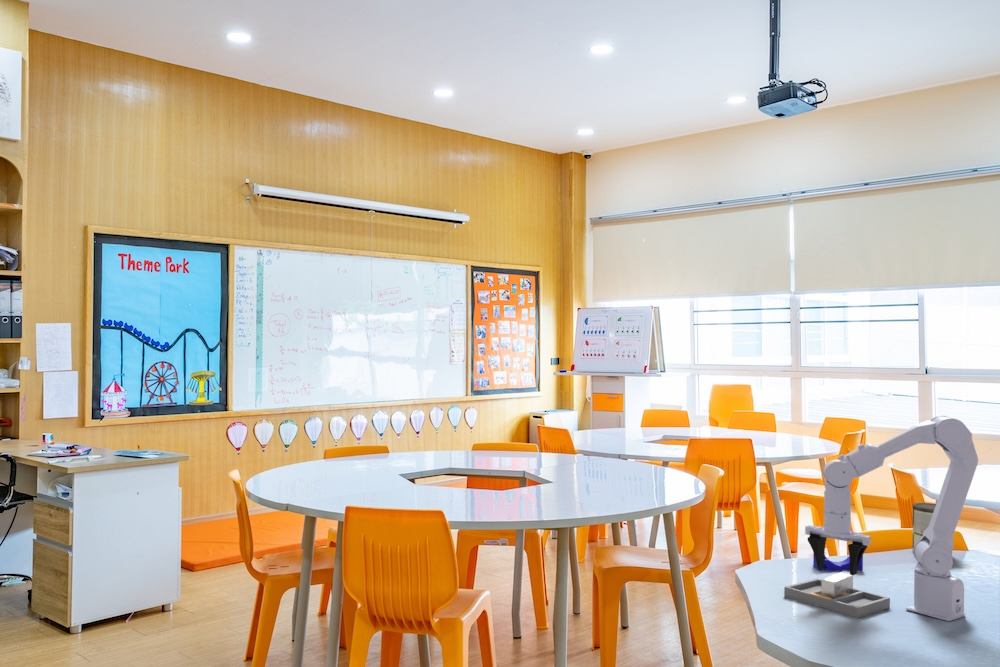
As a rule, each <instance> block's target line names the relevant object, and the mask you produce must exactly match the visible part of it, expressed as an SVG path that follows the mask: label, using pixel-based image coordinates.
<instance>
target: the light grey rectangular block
mask: <svg viewBox="0 0 1000 667" xmlns="http://www.w3.org/2000/svg"><path fill="white" fill-rule="evenodd" d="M821 580H822V582H821V595H822V596H825V597H829V598H832V599H835V598H838V597H842V596H845V595H849V594H852V593H853V588H854V575H850V573H846V572H843V571H839V572H838V573H834V574H832V575H828V576H827V577H825V578H822V579H821Z"/></svg>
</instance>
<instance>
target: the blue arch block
mask: <svg viewBox="0 0 1000 667" xmlns="http://www.w3.org/2000/svg"><path fill="white" fill-rule="evenodd" d="M824 555H825V563H824V567H822V568H817V563H816V559H815V555H814V554H813V564H812V566H813V567H814V568H815V569H817V570H818V571H826V572H827V571H829V572H830V571H831V572H843V571H850V556H848V557H847V558H845V559H844V560H842V561H833V560H830V559H828V558H827V557H826V554H825V553H824ZM863 567H864V554H863V555H862V558H861V560H860V563H859V566H858V570H857V572H858V571H860V572H863V571H864V570H863V569H864V568H863Z"/></svg>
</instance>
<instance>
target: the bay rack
mask: <svg viewBox="0 0 1000 667" xmlns="http://www.w3.org/2000/svg"><path fill="white" fill-rule="evenodd" d="M821 582H822V579H819V578H814V579H811V580H810V579H809V580H805V581H802V582H798V583H794V584H791V585H787V586H784V589H783V590H784V591H783V593H784V594H783V595H784V597H785V598H788V599H791V600H796V601H799V602H803V603H805V602H806V603H807V604H810V605H812V606H816V607H819V608H822V607H823V609H825V608H826V610H829V611H833V612H835V613H839V614H843V615H846V616H848V617H849V616H850V617H853V618H856V619H859V618H862V617H865V616H868V615H871V614H875V613H878V612H881V611H883V610H887V609H890V607H891V604H890V603H891V598H890V597H887V596H884V595H880V594H877V593H873V592H869V591H866V590H861V589H857V588H854V587H853V593H852V594H849V595H845V596H842V597H838V598H835V599H832V598H829V597H825V596H822V595H821ZM806 603H805V604H806Z"/></svg>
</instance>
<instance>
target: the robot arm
mask: <svg viewBox="0 0 1000 667" xmlns="http://www.w3.org/2000/svg"><path fill="white" fill-rule="evenodd" d="M917 444H928V445H929V444H930V445H936V444H937V445H938V446H939V447H941V448H942V450H943V451H944V453H945V454H946V456H947V457H948V459H949V466H948V468H947V471H946V475H945V478H944V480H943V483H942V486H941V489H940V492H939V495H938V498H937V501H936V503H935V504H936V506H935V509H934V512H933V515H932V518H931V521H930V524H929V526H928V528H927V529H926V530H925V531H924V533H923V536H922V538H921V539H920V540H919V541H918V542H917V543H916V544H915V545H914V548H913V547H912V550H913V552H912V553H913V557H914V558H915V559H916V561H917V563H916V565H915V566H914V567H913V568H914V569H913V570H914V573H913V574H914V582H913V583H914V584H913V585H914V586H913V589H914V591H913V592H914V593H913V596H914V597H913V605H909V606H907V607H905V609H906V610H907V611H910V612H913V613H917V614H920V615H925V616H928V617H932V618H935V619H938V620H943V621H947V622H950V621H954V620H957V619H959V618H962V617H964V616H966V612H965V586H964V582H963V580H962V579H960V578H957V577H954V576H953V575H952V572H951V571H952V568H953V565H954V558H953V550H954V534H955V531H956V529H957V525H958V523H959V520H960V517H961V515H962V510H963V508H964V505H965V501H966V499H967V497H968V494H969V490H970V487H971V484H972V482H973V478H974V476H975V472H976V470H977V466H978V463H979V458H978V457H979V456H978V455H977V451H976V447H975V443H974V441H973V433H972V431H970V429H969V428H968V427H967V426H966V424H964V422H962V420H959V419H957V418H954V417H949V416H946V415H938V416H935V417H933V418H931V419H930V420H929V419H926V420H925V421H924V420H923V421H922V422H919V423H917V424H915V425H912V426H911V427H908V428H907V429H905V430H903V431H902V432H900V433H898V434H896V435H894V436H892V437H891V438H889V439H887V440H885V441H884V442H881V443H880V444H878V445H874V444H872V443H866V444H865V445H864V443H859V444H858V445H857V448H856V449H854V450H853V451H851V452H848V453H846V454H842V453H841V454H840V455H838V458H839V459H831V460H829V461H827V462H826V464H825V465H824V468H823V469H822V475H823V476H824V478H825V483H824V493H823V494H824V496H823V500H824V501H823V502H824V503H823V526H816V525H812V524H811V525H810V524H807V525H805V528H804V529H805V530H804V532H805V533H804V534H805V535H808V536H809V537H807V542H808V543H809V545H810V548H811V549H812V551H813V555H815V559H816V563H817V568H822V567H824V563H825V556H826V554H825V550H826V543H827V539H833V540H838V541H842V542H843V541H844V542H849V544H847V549H848V553H849V554H848V555H849V556H850V570H849V574H850V575H853V576H855V575H857V574H858V571H857V570H858V566H859V563H860V560H861V558H862V555H863V556H864V553H865V552H866V550H867V548H868V547H869V546H870V545H871V542H872V540H871V538H872V536H871V535H866V534H862V533H859V532H854V531H852V530H851V523H852V522H851V515H852V513H851V511H852V509H851V508H852V494H851V484H852V482H853V479H854V478H856V479H858V478H860V477H862V476H864V475H866V474H868V473H870V472H872V471H874V470H877V469H879V468H880V467H882V466H883V465H884V462H885V459H886V458H888V457H891V456H893V455H894V454H897V453H899V452H902V451H904V450H907V449H909V448H911V447H913V446H916V445H917ZM824 554H825V555H824ZM849 556H848V557H849ZM817 568H816V569H817Z"/></svg>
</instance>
